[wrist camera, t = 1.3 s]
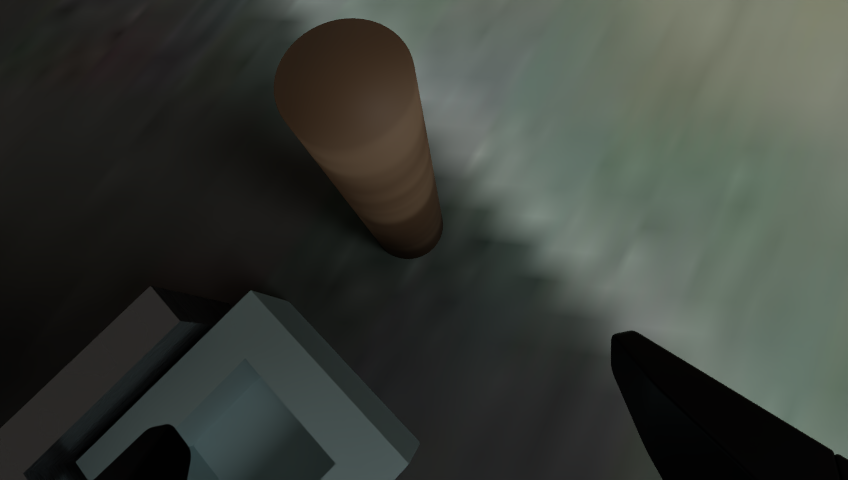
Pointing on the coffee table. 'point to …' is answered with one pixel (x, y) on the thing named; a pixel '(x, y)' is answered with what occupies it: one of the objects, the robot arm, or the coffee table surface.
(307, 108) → the dowel
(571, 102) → the coffee table surface
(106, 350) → the corner stop
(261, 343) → the socket block
